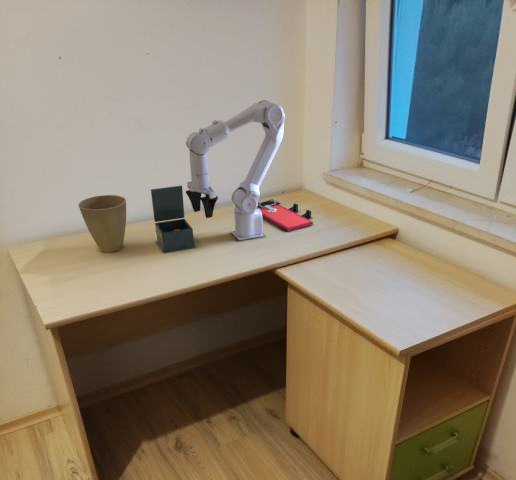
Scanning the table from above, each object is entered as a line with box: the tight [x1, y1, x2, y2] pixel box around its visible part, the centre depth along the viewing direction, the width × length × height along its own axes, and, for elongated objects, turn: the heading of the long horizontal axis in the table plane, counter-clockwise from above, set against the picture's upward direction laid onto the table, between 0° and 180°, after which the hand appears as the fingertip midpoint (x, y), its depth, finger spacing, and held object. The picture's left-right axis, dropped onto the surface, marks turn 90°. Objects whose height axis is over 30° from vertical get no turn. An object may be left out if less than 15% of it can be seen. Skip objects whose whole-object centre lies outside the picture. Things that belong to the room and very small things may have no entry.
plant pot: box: [77, 194, 127, 253], centre depth 167 cm, size 15×15×16 cm
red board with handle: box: [257, 198, 314, 232], centre depth 194 cm, size 30×3×15 cm
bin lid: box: [150, 185, 185, 223], centre depth 169 cm, size 11×10×1 cm
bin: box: [154, 218, 195, 254], centre depth 171 cm, size 10×10×7 cm
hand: (203, 214), depth 169 cm, fingers open, 7 cm apart
